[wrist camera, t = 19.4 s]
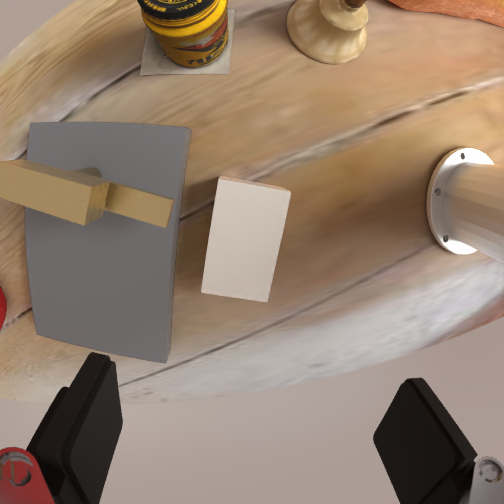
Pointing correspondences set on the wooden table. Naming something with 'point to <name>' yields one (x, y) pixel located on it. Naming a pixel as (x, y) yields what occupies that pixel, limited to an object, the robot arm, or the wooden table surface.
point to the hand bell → (329, 29)
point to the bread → (459, 8)
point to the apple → (2, 307)
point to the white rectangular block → (244, 238)
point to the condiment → (187, 36)
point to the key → (79, 193)
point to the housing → (107, 241)
